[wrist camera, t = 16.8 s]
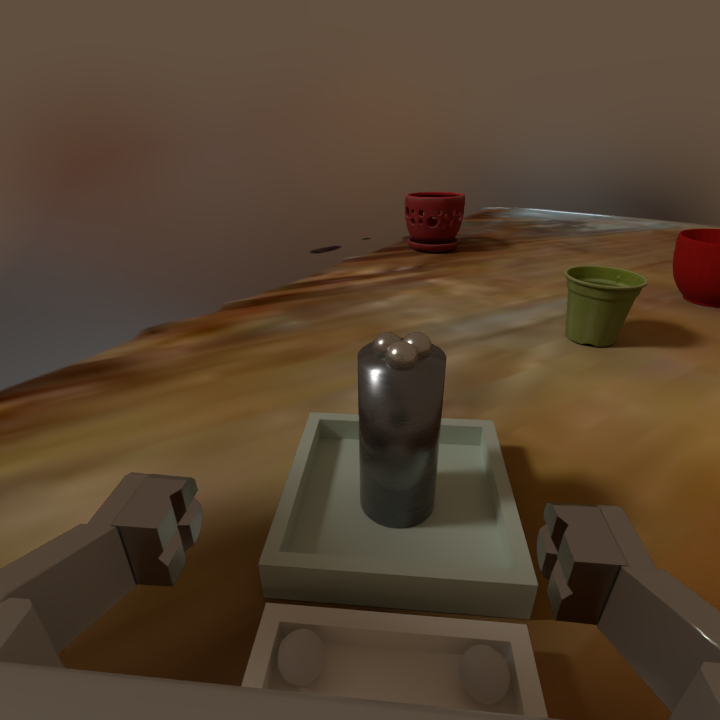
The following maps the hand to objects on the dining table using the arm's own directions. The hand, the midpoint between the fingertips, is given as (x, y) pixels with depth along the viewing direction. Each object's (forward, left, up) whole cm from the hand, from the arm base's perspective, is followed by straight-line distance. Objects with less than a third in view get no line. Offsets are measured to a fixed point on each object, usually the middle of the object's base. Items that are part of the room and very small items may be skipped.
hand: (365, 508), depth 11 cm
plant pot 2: (+26, +51, -18) cm, 60 cm away
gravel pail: (+1, +18, -17) cm, 25 cm away
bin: (+1, +18, -18) cm, 25 cm away
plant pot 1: (+7, +100, -18) cm, 102 cm away
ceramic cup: (+51, +66, -18) cm, 85 cm away
